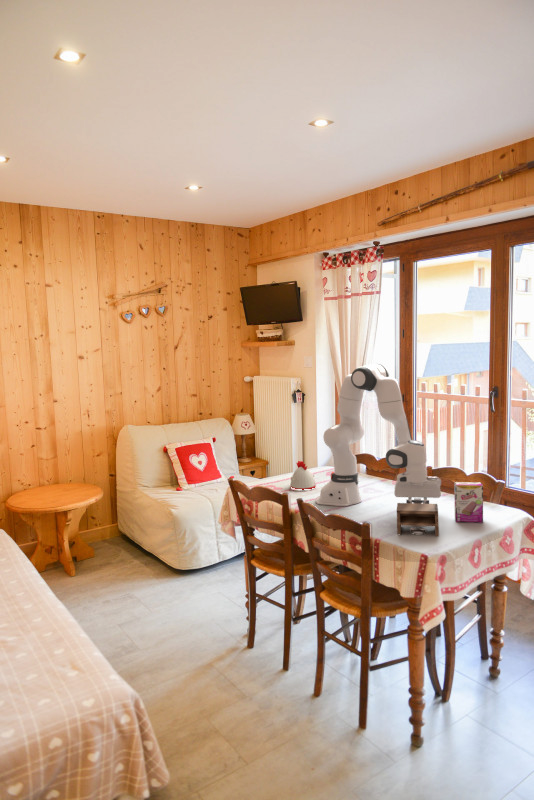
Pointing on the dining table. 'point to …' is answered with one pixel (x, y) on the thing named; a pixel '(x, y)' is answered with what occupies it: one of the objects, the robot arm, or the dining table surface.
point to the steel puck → (417, 530)
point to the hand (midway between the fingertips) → (417, 506)
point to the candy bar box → (468, 501)
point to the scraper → (417, 501)
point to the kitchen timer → (302, 478)
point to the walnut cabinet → (417, 515)
